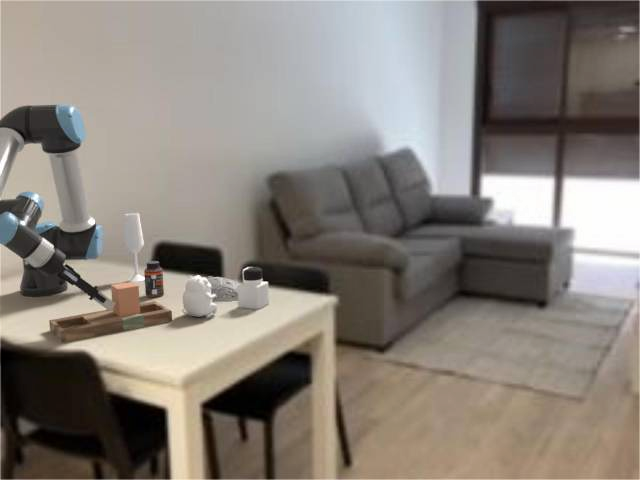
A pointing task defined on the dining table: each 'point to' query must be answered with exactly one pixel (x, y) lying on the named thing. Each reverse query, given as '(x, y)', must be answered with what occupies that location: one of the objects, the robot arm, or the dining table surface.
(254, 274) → the medicine bottle
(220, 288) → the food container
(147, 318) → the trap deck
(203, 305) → the figurine
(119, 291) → the block
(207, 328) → the dining table surface
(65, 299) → the dining table surface
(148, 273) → the supplement bottle
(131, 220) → the champagne flute
